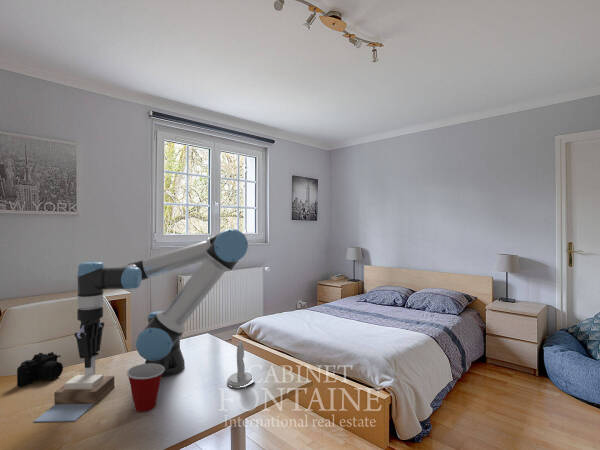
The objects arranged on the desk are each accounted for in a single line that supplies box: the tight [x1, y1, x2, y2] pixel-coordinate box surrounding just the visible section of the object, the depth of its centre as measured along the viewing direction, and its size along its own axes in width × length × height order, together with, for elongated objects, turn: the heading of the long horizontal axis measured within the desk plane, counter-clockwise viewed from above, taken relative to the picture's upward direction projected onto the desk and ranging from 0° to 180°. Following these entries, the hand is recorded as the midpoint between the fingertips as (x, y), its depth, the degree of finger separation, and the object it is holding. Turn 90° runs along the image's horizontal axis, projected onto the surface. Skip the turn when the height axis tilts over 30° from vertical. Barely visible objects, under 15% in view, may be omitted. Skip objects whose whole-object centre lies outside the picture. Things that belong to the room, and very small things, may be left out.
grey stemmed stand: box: [226, 340, 253, 388], centre depth 121 cm, size 10×10×15 cm
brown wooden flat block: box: [53, 375, 115, 405], centre depth 111 cm, size 13×11×4 cm
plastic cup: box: [126, 363, 165, 413], centre depth 104 cm, size 11×11×12 cm
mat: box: [33, 403, 95, 423], centre depth 101 cm, size 12×9×1 cm
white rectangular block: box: [64, 374, 104, 390], centre depth 110 cm, size 9×6×2 cm, turn 90°
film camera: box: [16, 351, 64, 388], centre depth 124 cm, size 15×10×9 cm, turn 168°
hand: (90, 375), depth 114 cm, fingers closed
